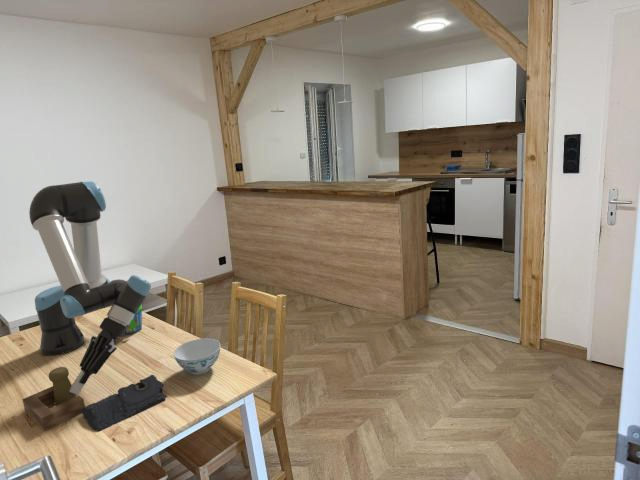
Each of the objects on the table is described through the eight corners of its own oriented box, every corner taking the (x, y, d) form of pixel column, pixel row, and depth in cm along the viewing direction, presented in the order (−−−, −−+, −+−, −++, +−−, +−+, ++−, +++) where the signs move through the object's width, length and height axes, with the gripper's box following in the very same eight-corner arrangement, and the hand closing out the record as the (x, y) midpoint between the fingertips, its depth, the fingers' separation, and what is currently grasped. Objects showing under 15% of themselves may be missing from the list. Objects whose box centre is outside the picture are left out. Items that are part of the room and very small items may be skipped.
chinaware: (168, 372, 147) (164, 351, 146) (207, 354, 158) (204, 334, 156) (192, 387, 137) (189, 364, 135) (232, 366, 148) (229, 345, 146)
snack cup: (146, 334, 179) (142, 311, 177) (118, 340, 175) (113, 317, 173) (145, 321, 193) (141, 299, 191) (119, 326, 189) (114, 304, 187)
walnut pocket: (64, 393, 140) (62, 382, 139) (85, 410, 129) (83, 398, 128) (25, 411, 132) (22, 399, 131) (44, 431, 121) (41, 418, 120)
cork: (58, 410, 130) (48, 376, 128) (52, 403, 135) (43, 370, 132) (80, 400, 134) (71, 367, 132) (74, 394, 139) (65, 362, 136)
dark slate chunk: (78, 413, 129) (74, 399, 128) (151, 381, 144) (149, 368, 142) (95, 436, 118) (91, 420, 117) (172, 398, 133) (170, 384, 132)
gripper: (136, 330, 140) (93, 403, 132) (117, 322, 149) (75, 390, 140) (116, 320, 135) (70, 395, 127) (98, 312, 144) (54, 382, 135)
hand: (73, 392), depth 134 cm, fingers closed
